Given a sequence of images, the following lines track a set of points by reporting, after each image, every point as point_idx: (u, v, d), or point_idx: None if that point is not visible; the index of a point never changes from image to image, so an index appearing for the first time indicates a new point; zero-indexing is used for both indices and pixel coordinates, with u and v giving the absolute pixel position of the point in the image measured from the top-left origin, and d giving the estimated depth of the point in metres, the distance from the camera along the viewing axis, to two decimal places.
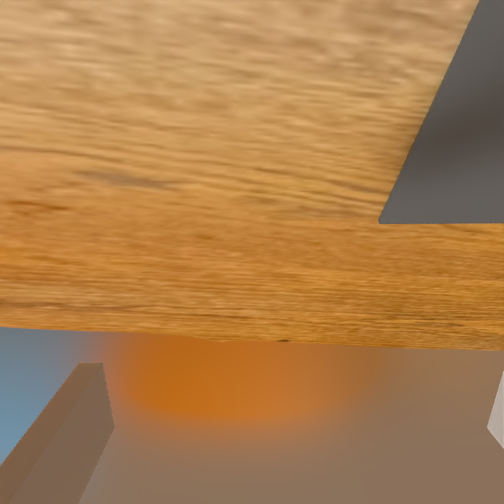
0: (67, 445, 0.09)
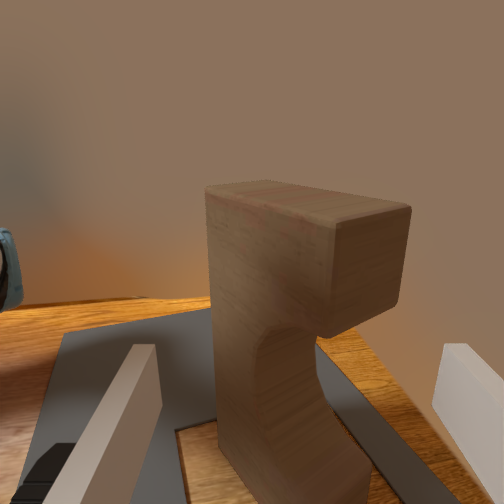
0: (134, 415, 0.10)
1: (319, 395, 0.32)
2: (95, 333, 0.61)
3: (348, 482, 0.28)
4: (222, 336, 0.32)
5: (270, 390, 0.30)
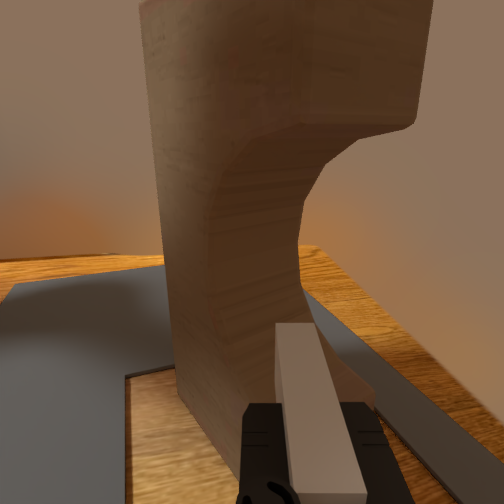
0: None
1: (303, 309, 0.24)
2: (51, 284, 0.52)
3: None
4: (170, 227, 0.23)
5: (233, 291, 0.21)
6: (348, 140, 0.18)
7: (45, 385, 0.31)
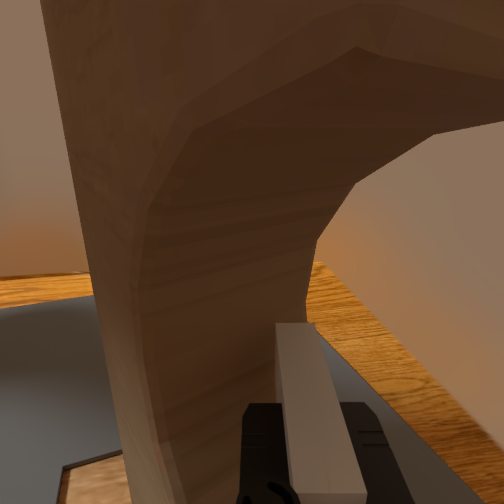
0: None
1: None
2: (1, 315, 0.43)
3: None
4: (98, 282, 0.14)
5: (195, 403, 0.12)
6: (416, 136, 0.08)
7: None
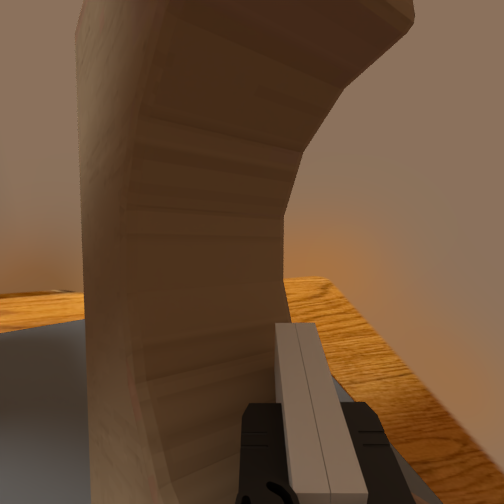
0: None
1: None
2: None
3: None
4: (91, 272, 0.16)
5: (175, 346, 0.12)
6: (326, 84, 0.12)
7: None
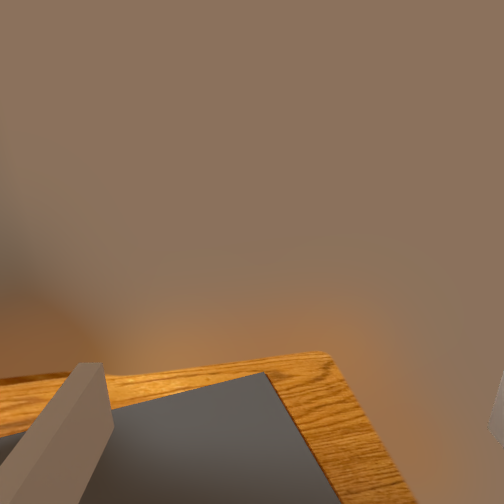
0: (67, 445, 0.09)
1: None
2: (3, 449, 0.42)
3: None
4: None
5: None
6: None
7: None
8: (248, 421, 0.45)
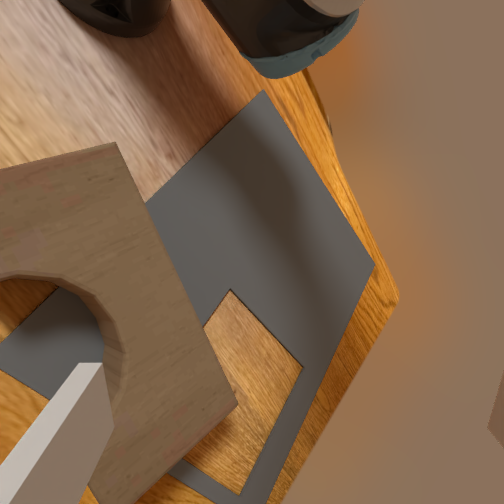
0: (67, 445, 0.09)
1: (119, 374, 0.30)
2: (275, 124, 0.55)
3: None
4: None
5: (104, 337, 0.35)
6: (18, 276, 0.27)
7: (202, 248, 0.45)
8: (347, 277, 0.64)
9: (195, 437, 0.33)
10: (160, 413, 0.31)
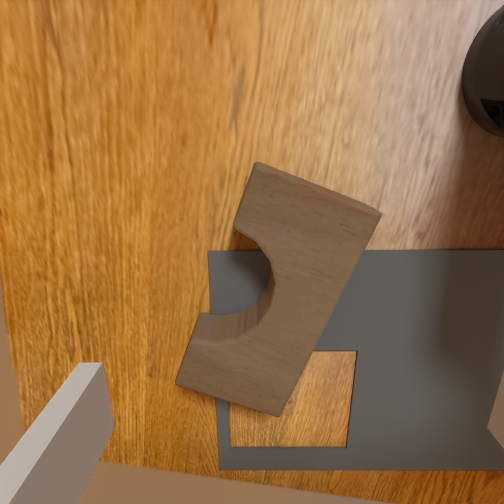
0: (67, 445, 0.09)
1: (245, 331, 0.42)
2: None
3: (196, 326, 0.45)
4: None
5: (260, 299, 0.46)
6: None
7: (369, 310, 0.49)
8: (460, 446, 0.57)
9: (241, 401, 0.45)
10: (240, 370, 0.43)
